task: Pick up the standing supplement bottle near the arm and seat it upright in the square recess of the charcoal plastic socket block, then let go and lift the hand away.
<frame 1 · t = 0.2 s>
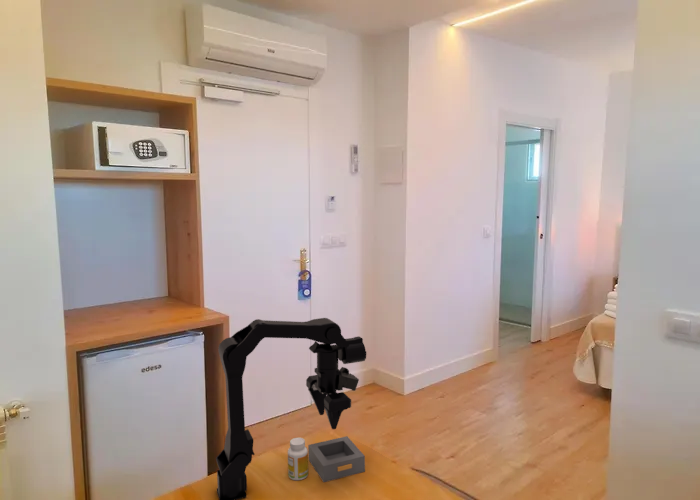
hand: (327, 421, 134), 14 cm above the table, tool pointing down, fingers open, 9 cm apart
socket block: (336, 465, 138), on the table
supplement bottle: (298, 475, 133), on the table
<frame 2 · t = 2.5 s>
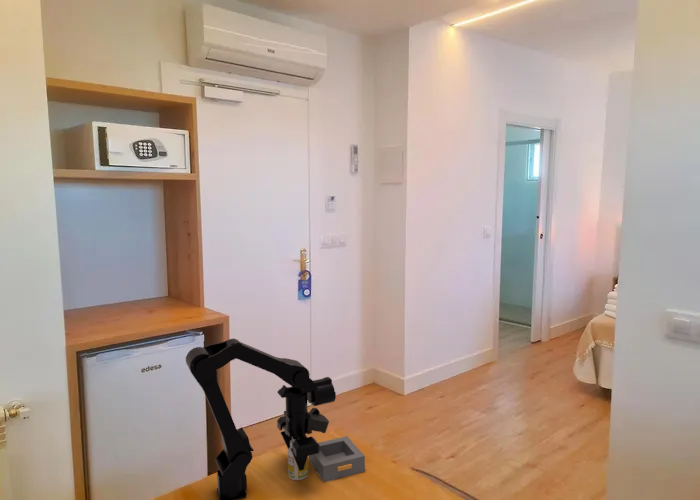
hand: (298, 464, 133), 3 cm above the table, tool pointing down, fingers closed on supplement bottle, 5 cm apart
supplement bottle: (298, 475, 133), on the table, touching gripper
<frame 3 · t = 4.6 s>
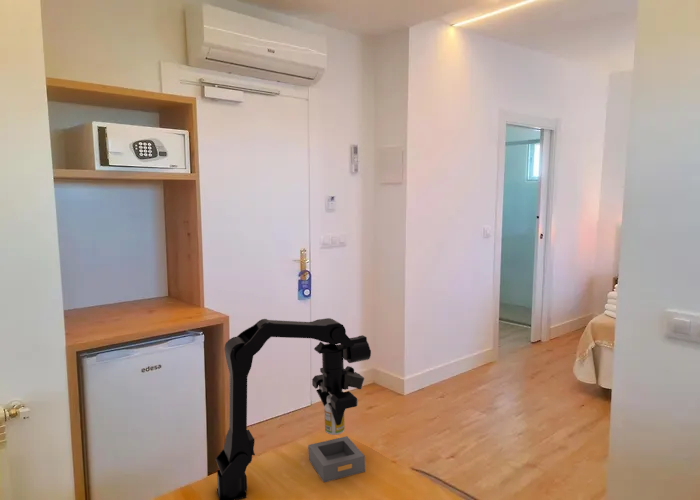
hand: (334, 420, 136), 13 cm above the table, tool pointing down, fingers closed on supplement bottle, 5 cm apart
supplement bottle: (334, 431, 136), point 10 cm above the table, touching gripper
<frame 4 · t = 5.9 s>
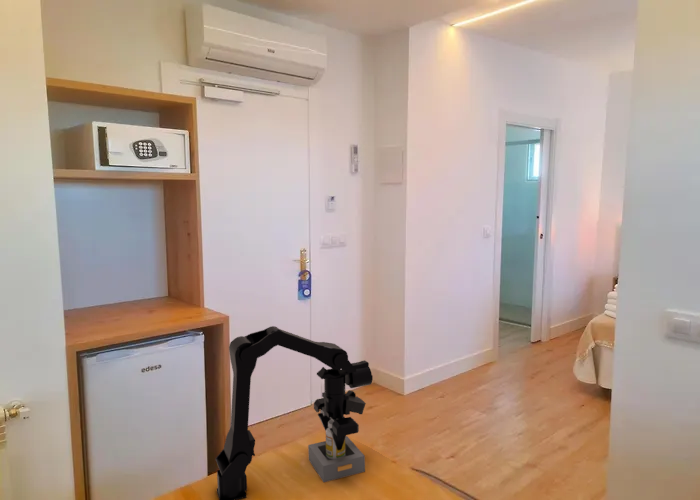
hand: (335, 444, 137), 6 cm above the table, tool pointing down, fingers closed on supplement bottle, 5 cm apart
supplement bottle: (335, 455, 137), point 3 cm above the table, touching gripper
when the fingers open (6 cm above the table, at t = 6.8 s): supplement bottle drops 2 cm, resting on socket block.
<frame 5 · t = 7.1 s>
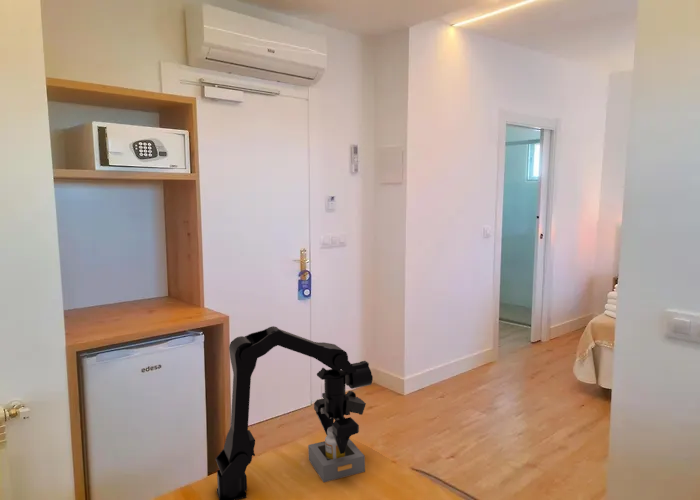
hand: (335, 445, 137), 6 cm above the table, tool pointing down, fingers open, 9 cm apart
supplement bottle: (335, 463, 137), point 1 cm above the table, touching socket block
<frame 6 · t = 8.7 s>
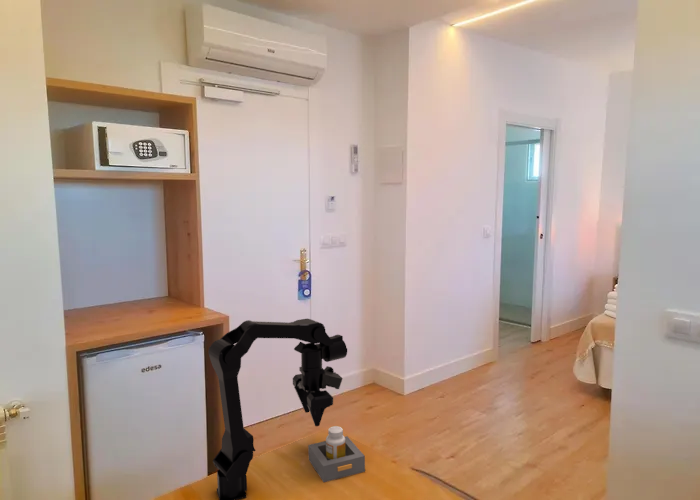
hand: (312, 418, 139), 13 cm above the table, tool pointing down, fingers open, 9 cm apart
nothing on the table moved.
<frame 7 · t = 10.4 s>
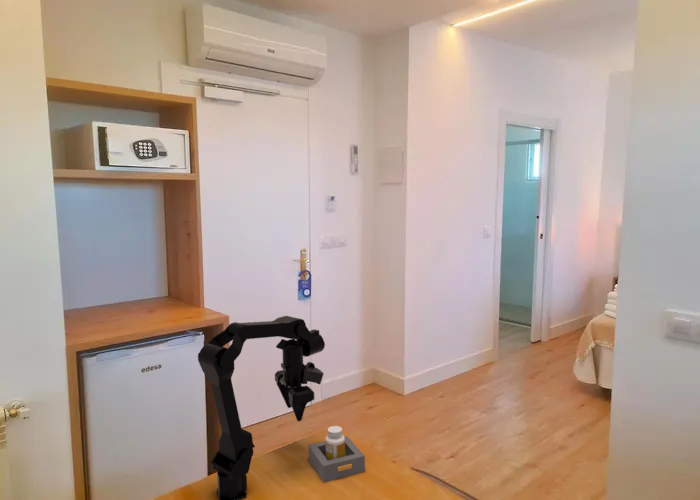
hand: (294, 414, 141), 13 cm above the table, tool pointing down, fingers open, 9 cm apart
nothing on the table moved.
at the end: supplement bottle 0.2 cm off-centre on the socket block, point 0.8 cm above the socket block's base; supplement bottle tilted 1°; the gripper is holding nothing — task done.
